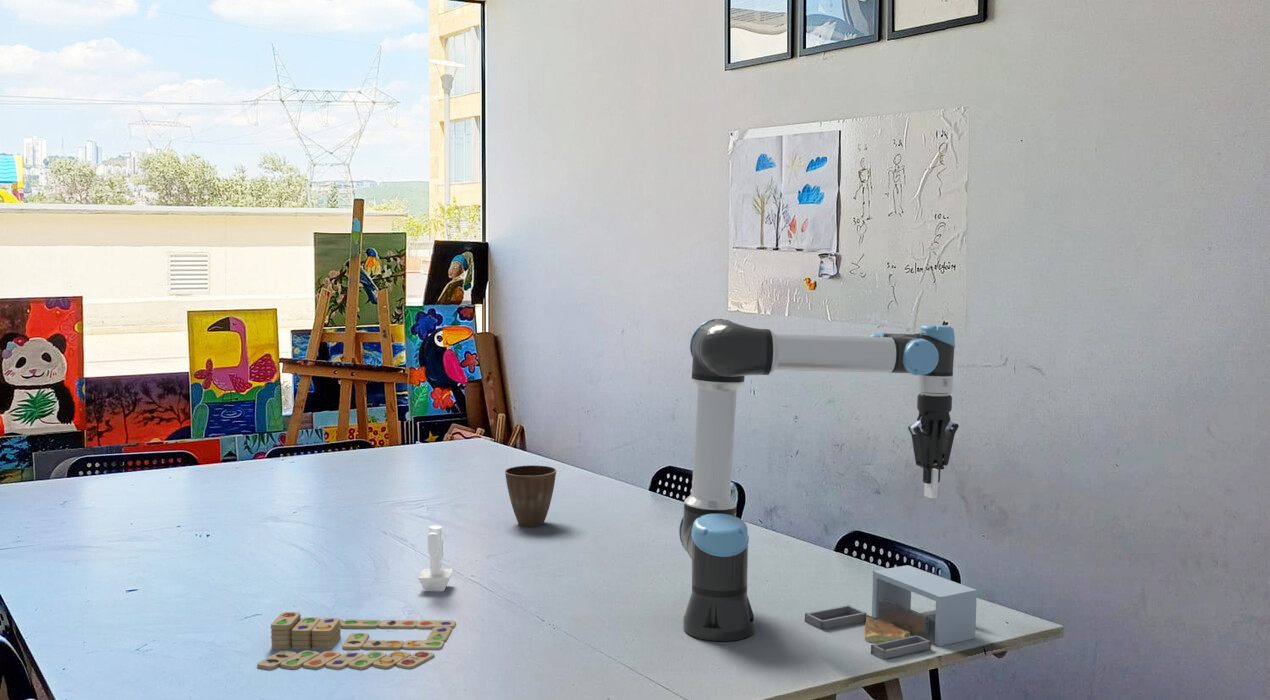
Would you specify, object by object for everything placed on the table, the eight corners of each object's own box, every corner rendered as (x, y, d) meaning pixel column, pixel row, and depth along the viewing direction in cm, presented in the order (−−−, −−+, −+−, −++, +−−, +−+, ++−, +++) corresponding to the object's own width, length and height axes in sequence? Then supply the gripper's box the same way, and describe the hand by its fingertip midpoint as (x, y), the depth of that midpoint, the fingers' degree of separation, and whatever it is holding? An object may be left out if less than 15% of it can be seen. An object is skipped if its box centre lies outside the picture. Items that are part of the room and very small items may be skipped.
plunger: (924, 641, 222) (925, 612, 222) (878, 621, 234) (879, 593, 234) (979, 629, 230) (980, 600, 229) (932, 610, 242) (933, 583, 241)
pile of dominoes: (250, 672, 206) (249, 644, 206) (295, 624, 233) (294, 599, 233) (433, 673, 206) (433, 644, 206) (456, 625, 233) (456, 599, 233)
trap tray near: (884, 660, 212) (884, 651, 212) (870, 653, 216) (871, 644, 215) (930, 650, 218) (930, 641, 218) (916, 643, 221) (916, 635, 221)
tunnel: (939, 646, 220) (940, 597, 219) (872, 616, 238) (873, 571, 237) (975, 638, 225) (976, 589, 224) (906, 609, 242) (907, 565, 242)
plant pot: (554, 530, 311) (553, 475, 310) (502, 530, 312) (501, 475, 310) (558, 518, 326) (558, 465, 325) (508, 517, 326) (508, 465, 325)
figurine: (454, 582, 262) (453, 521, 260) (448, 594, 252) (447, 531, 251) (424, 582, 262) (423, 521, 260) (417, 594, 252) (416, 531, 251)
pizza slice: (866, 622, 235) (866, 613, 235) (910, 626, 233) (911, 616, 233) (862, 643, 223) (863, 633, 222) (909, 648, 220) (909, 637, 220)
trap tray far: (822, 630, 229) (822, 621, 229) (804, 621, 234) (804, 613, 234) (866, 621, 235) (866, 613, 235) (848, 613, 240) (848, 605, 240)
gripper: (923, 397, 238) (919, 503, 240) (968, 394, 244) (964, 498, 246) (901, 392, 244) (897, 496, 246) (945, 390, 250) (941, 491, 252)
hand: (930, 497), depth 246 cm, fingers closed
